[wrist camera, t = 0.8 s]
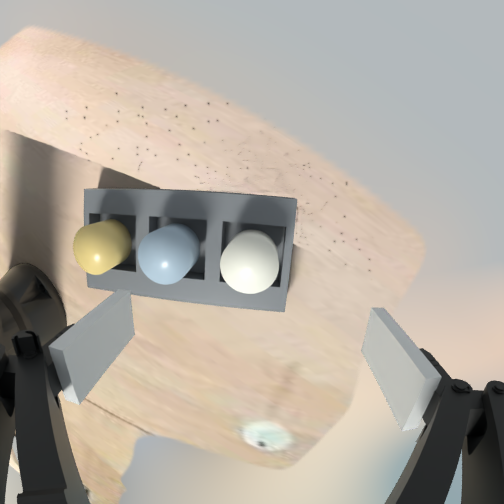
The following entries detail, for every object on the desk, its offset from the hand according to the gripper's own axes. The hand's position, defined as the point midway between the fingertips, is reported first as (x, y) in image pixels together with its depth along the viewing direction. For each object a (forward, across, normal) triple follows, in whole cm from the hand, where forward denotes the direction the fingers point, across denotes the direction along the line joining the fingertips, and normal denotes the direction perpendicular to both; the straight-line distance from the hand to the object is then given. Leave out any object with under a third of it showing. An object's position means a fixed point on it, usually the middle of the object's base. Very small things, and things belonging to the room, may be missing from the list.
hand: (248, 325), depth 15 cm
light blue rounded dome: (+16, -8, 0) cm, 18 cm away
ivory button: (+16, 0, 0) cm, 16 cm away
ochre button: (+16, -16, 0) cm, 23 cm away
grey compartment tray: (+19, -8, 0) cm, 20 cm away
